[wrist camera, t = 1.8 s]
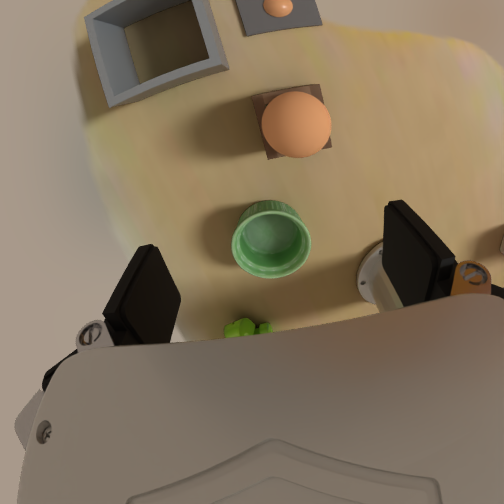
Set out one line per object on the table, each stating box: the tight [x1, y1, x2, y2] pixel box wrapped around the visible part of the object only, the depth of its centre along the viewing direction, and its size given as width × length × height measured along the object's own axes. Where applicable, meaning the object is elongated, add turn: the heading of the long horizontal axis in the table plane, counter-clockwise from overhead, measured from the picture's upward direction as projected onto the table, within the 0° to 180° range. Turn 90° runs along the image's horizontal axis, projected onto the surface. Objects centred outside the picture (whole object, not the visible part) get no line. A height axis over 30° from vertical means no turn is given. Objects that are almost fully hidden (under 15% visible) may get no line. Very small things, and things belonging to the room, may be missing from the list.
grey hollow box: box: [84, 0, 229, 108], centre depth 19 cm, size 11×11×7 cm
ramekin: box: [231, 200, 311, 278], centre depth 33 cm, size 9×9×4 cm
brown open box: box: [252, 84, 332, 160], centre depth 25 cm, size 6×6×4 cm
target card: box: [236, 0, 322, 36], centre depth 19 cm, size 8×6×1 cm
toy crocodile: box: [224, 318, 273, 338], centre depth 45 cm, size 20×7×6 cm, turn 19°
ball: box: [262, 91, 331, 158], centre depth 22 cm, size 6×6×6 cm
